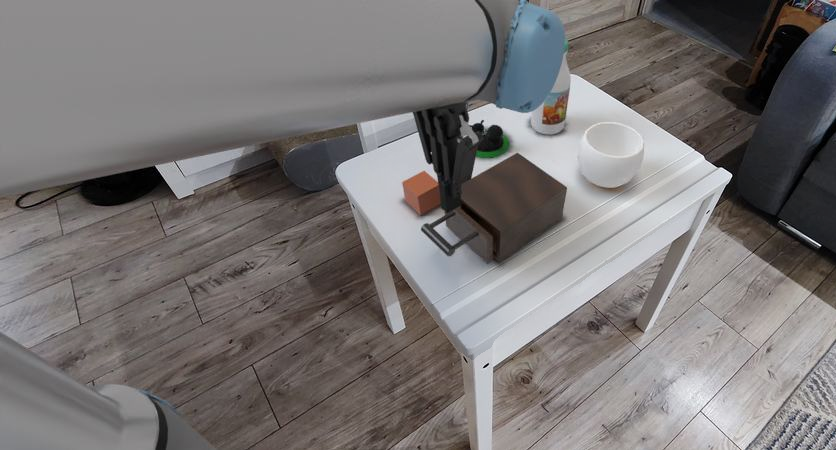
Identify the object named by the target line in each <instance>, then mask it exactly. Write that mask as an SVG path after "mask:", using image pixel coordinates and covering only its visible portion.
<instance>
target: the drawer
mask: <svg viewBox="0 0 836 450" xmlns="http://www.w3.org/2000/svg"><path fill="white" fill-rule="evenodd" d="M444 222H445V227H446V228H448V229H449V230H450V232H452V233H453V234H454V235H455V236H456V237H457V238H458V239H460V240H459V241H457V242H455V244H450V243H449V242H448V241H447V239H445V238H444V237H443V236H442V235H441V234H440V233H439V232H437V230H436V229H435V228H436V227H437V226H440V224H442V223H444ZM420 231H421V232H422V233H423V234H424V235H425V236H426V237H427V238H428V239H429V240H430V241H431V242H432V243H433V244H434V245H435V246H437V247H438V249H439V250H441V251H442V253H444V254H445V255H446V256H447V257H448V258H449V257H452V256H453V255H454V254H455V253H456V250H458V249H459V248H461V247H462V246H464V245H466V246H467V247H468V248H469V249H470V250H471V251H472V252H474V254H476V255H477V256H478V257H479V258H480V259H481V260H482V261H483V262H484V263H486V265H488V264H490V263H491V262H493V259H494V257H493V251H494V252H495V253H497V231H496V230H494V229H493V228H492V227H491V226H490V225H489V224H487V223H486V222H485V221H484V220H483V219H482V218H480V217H479V216H478V215H477V214H476V213H474V212H473V211H472V210H471V209H470V208H469V207H467V206H466V205H465V204H464V203H463V202H462V201H461V206H459V207H458V208H456V209H454V210H452V211H451V212H449V213H446V212H445V211H444V215H443V216H440V217H439V218H438V219H436V220H435V221H432V222H431V223H430V224H429V223H428V222H427V223H424V224H423V225H422V226H421V227H420Z"/></svg>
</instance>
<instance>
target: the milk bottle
mask: <svg viewBox="0 0 836 450" xmlns="http://www.w3.org/2000/svg"><path fill="white" fill-rule="evenodd" d="M569 44H570V43H569V40H568V39H566V38H565V48H564V55H563V59H562V64H561V67H560V71H559V74H558V77H557V79H556V82H555V84H554V86H553V88H552V90H551V92H550V94H549V95H548V97H547V98H546V100H545V101H544V102H543V103H542V104H541V105H540V106H539V107H538V108H537V109H536V110H534V111H532V112H531V114H530V115H531V117H530V125H531V127H532V129H533V130H534V131H535V132H537V133H539V134H542V135H555V134H559V133H560V132H562V130H563V129H564V128H565V124H566V119H567V111H568V105H569V99H570V90H571V81H572V80H571V78H572V77H571V72H570V68H569V65H568V62H567V54H568V51H569V46H570V45H569Z"/></svg>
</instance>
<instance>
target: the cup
mask: <svg viewBox="0 0 836 450" xmlns="http://www.w3.org/2000/svg"><path fill="white" fill-rule="evenodd" d="M644 156H645V140H644V139H643V137H642V135H641V133H640V132H638V131H637V130H636V129H634V128H633V127H632V126H629V125H626V124H624V123H621V122H616V121H601V122H598V123H595V124H592V125H590V126H589V127H588V128H587V129H586V130H585V131H584V133H583V135H582V137H581V139H580V142H579V147H578V151H577V160H578V161H577V162H578V166H579V169H580V172H581V174H582V175H583V177H585V178H586V180H587V181H588V182H589V183H591V184H593V185H595V186H597V187H601V188H606V189H608V188H609V189H611V188H618V187H620V186H623V185H625V184H627V183H629V182H630V181H631V180H632V179H633V178H634V176H636V174H637V173H638V171H639V170H640V169H641V166H642V163H643V160H644Z"/></svg>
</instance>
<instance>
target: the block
mask: <svg viewBox="0 0 836 450" xmlns="http://www.w3.org/2000/svg"><path fill="white" fill-rule="evenodd" d="M401 185H402V189H403V195H404V201H405V202H406V204H408V205H409V206H410V207H411V208H412V210H414V211H415V212H416V213H417V214H418V215H419V216H422V215H425V214H426V213H428V212H429V211H432V210H433V209H435V208H436V207H439V206H441V200H440V191H439V185H438V180H436V179H435V178H434V177H432V176H431V175H430V174H429V173H428V172H427V171H426V170H423V171H421V172H418V173H417V174H415V175H412V176H411V177H409V178H407V179H405V180H403V181H402V182H401Z"/></svg>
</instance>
